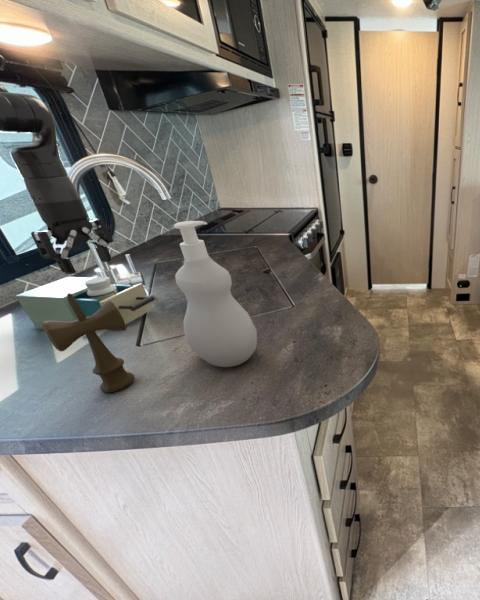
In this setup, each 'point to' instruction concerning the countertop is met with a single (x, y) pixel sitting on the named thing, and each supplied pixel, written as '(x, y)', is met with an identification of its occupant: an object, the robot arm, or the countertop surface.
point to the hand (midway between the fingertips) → (89, 267)
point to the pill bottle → (100, 288)
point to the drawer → (119, 302)
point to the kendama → (93, 341)
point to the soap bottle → (212, 306)
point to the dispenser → (52, 300)
